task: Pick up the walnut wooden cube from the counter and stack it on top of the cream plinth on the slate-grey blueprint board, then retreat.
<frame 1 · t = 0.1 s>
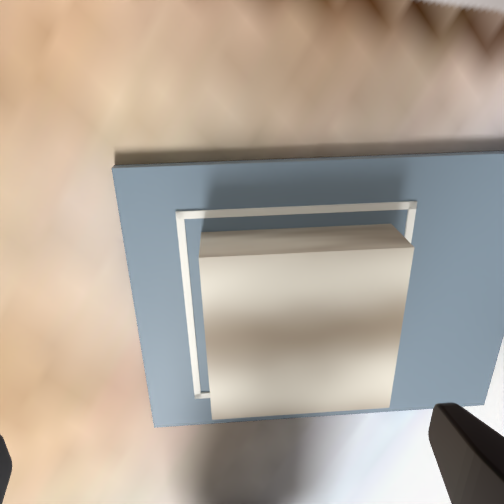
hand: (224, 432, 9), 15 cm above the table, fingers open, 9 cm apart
blueprint board: (327, 301, 25), on the table
plinth: (295, 308, 24), resting on blueprint board
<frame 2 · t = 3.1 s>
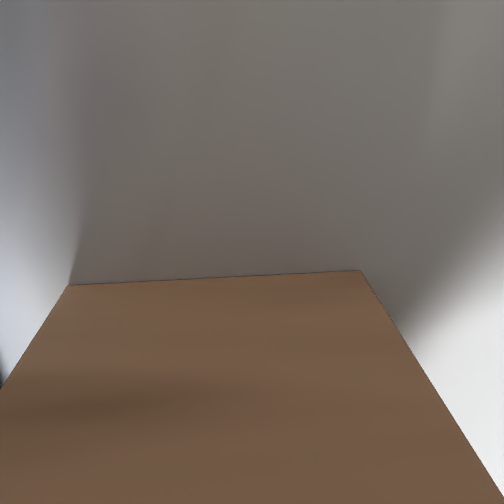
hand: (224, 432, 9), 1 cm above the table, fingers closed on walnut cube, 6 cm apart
walnut cube: (223, 389, 10), on the table, touching gripper
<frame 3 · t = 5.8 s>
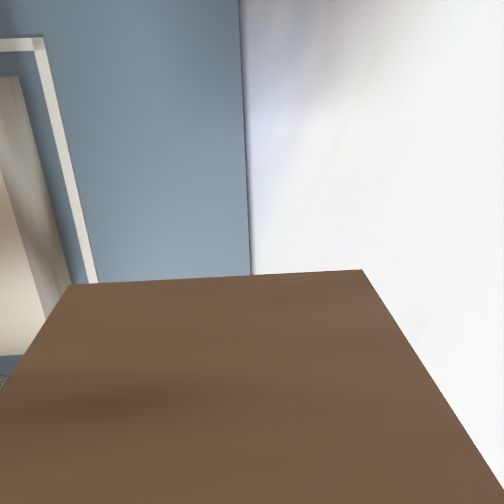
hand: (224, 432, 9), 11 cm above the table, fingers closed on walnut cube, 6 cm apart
walnut cube: (225, 388, 10), point 10 cm above the table, touching gripper
when the fingers open (6 cm above the table, at t = 8.8 s): walnut cube drops 1 cm, resting on plinth.
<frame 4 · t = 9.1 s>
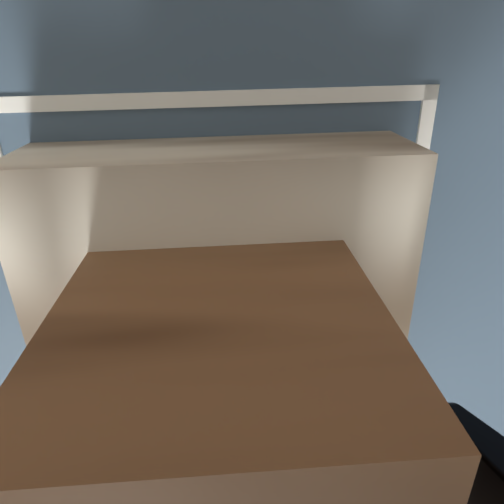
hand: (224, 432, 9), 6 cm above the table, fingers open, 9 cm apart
blueprint board: (281, 279, 15), on the table
walnut cube: (223, 348, 11), point 4 cm above the table, touching plinth
plinth: (222, 291, 14), resting on blueprint board
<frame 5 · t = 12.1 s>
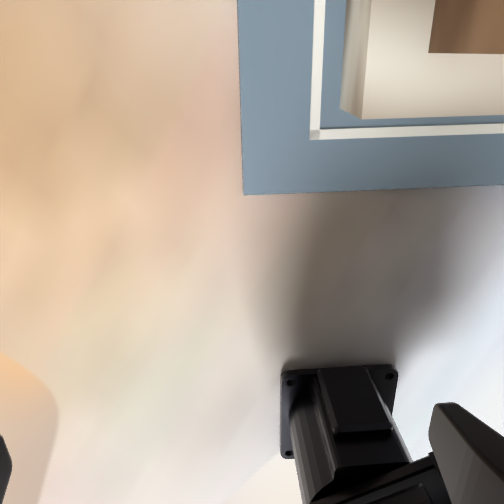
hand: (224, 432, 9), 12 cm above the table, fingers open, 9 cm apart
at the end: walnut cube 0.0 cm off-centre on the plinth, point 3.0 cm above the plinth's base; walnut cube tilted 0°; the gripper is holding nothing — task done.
